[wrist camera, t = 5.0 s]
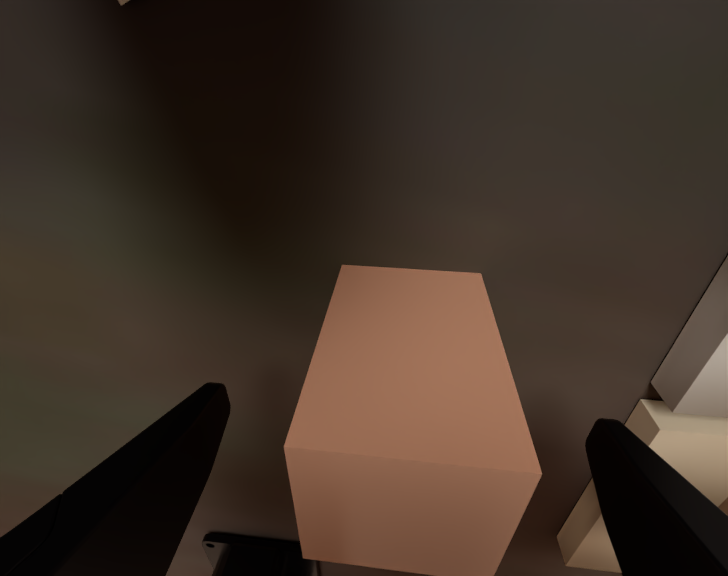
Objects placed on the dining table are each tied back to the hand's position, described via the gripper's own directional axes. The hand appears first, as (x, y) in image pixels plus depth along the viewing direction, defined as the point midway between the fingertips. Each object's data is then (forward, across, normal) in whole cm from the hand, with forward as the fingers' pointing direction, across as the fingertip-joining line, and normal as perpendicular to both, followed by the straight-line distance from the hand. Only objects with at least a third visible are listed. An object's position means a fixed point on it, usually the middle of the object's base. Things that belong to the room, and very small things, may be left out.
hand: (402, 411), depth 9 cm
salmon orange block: (+3, 0, 0) cm, 3 cm away
